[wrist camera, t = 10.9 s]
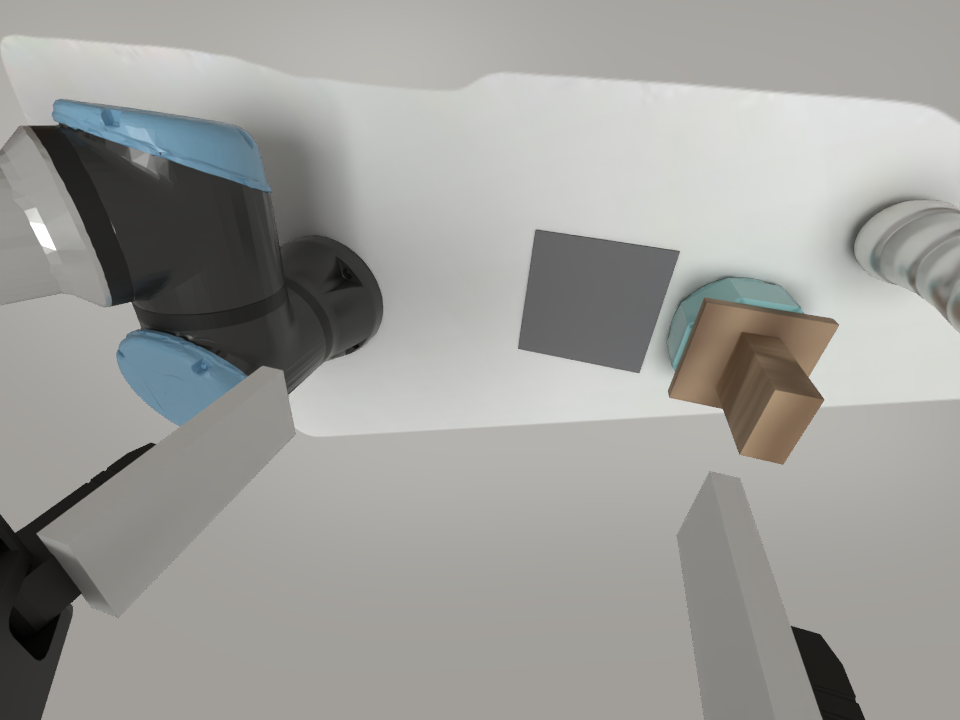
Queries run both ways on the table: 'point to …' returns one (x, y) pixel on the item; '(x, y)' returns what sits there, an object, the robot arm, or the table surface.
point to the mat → (594, 299)
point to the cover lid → (754, 372)
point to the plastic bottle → (916, 252)
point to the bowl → (724, 290)
